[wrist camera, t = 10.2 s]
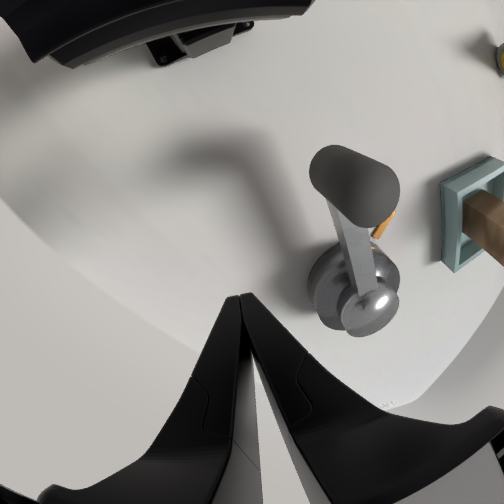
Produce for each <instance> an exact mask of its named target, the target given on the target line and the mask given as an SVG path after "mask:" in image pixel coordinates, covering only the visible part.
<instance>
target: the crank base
mask: <svg viewBox="0 0 504 504" xmlns="http://www.w3.org/2000/svg"><path fill="white" fill-rule="evenodd" d="M395 212H396V211H395V210H394V212H393V213H392V214H391V216H390V217H389V218H388V219H387V220H386V221H384V222H383V223H382V224H380V225H379V226H378V227H377V229H376V231H375V232H374V234H373V235H372V236H373V237H375V238H376V239H379V238H380V236H381V234H382V233H383V231H384V230H385V228H386V227H387V225H388V223H389V222H390V220H391V219H392V217H393V215H394V214H395ZM370 243H371V248H372V254H373V259H374V265H375V271H376V276H380V277H382V278H384V279H385V280H386V282H387V283H388V284H389V285H390V287H391V288H392V289H393V290H394V292H395V293H397V291H398V288H399V283H400V275H399V271H398V268H397V267H396V265H395V264H394V263H393V262H392V261H391V260H390V259H389V258H388V257H387V255H386V254H385V253H384V252H383V251H382V250H381V249H380V248H379V247H378V246H377V245H376V244H374V243H373V242H371V241H370ZM350 285H351V283H350V279H349V275H348V271H347V268H346V264H345V260H344V257H343V253H342V249H341V246H340V243H339V244H337V245H335V246H333V247H332V248H330V249H329V250H328V251H326V252H325V253H324V254H323V255H322V256H321V257H320V258H319V259H318V261H317V262H316V263H315V265H314V266H313V268H312V270H311V272H310V275H309V278H308V286H307V288H308V293H309V296H310V298H311V300H312V302H313V304H314V307H315V309H316V311H317V313H318V315H319V317H320V319H321V321H322V322H323V324H324V325H326V326H327V327H329V328H331V329H334V330H346V329H345V327H344V325H343V324H342V322H341V320H340V318H339V316H338V314H337V310H336V306H337V302H338V300H339V298H340V296H341V294H342V293H343V292H344V290H345V289H346V288H347V287H348V286H350Z"/></svg>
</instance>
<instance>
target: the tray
mask: <svg viewBox="0 0 504 504" xmlns="http://www.w3.org/2000/svg"><path fill="white" fill-rule="evenodd" d="M482 189H483V190H485V191H487V192H488V193H490V194H492V195H494V196H495V197H497V198H499V199H500V200H502V201H504V162H503V161H501V160H499V159H496V158H494V157H492V156H491V157H489V158H487V159H485V160H484V161H482V162H480V163H478V164H476V165H474V166H472V167H470V168H468V169H466V170H464V171H463V172H461V173H459V174H457V175H455V176H453V177H451V178H449V179H447V180H445V181H443V182H441V183H440V190H441V206H442V259H441V261H442V262H443V263H444V264H445V265H446V266H447V267H448V268H449V269H450V270H451V271H452V272H453V273H455V272H457V271H458V270H459V269H461V268H462V267H464V266H465V265H466V264H468V263H469V262H470V261H472V260H473V259H475V258H476V257H477V256H479V255H480V254H481V253H482V252H484V251H485V250H484V249H483V248H481V247H480V246H479V245H478V244H477V243H475V242H474V241H473V240H471V239H470V238H469V237H468V236H466V235H465V234H464V233H462V225H463V201H464V200H466V199H468V198H469V197H471V196H473V195H474V194H476V193H478V192H479V191H481V190H482Z"/></svg>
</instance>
